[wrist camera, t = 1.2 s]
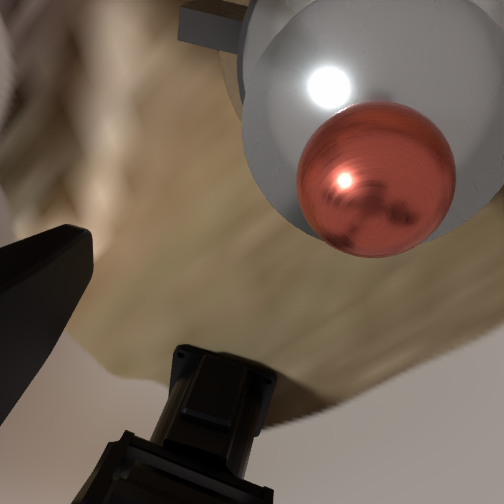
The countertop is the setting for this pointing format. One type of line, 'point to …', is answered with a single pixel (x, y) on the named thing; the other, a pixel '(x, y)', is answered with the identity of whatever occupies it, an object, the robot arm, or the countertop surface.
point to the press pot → (253, 33)
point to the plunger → (379, 121)
